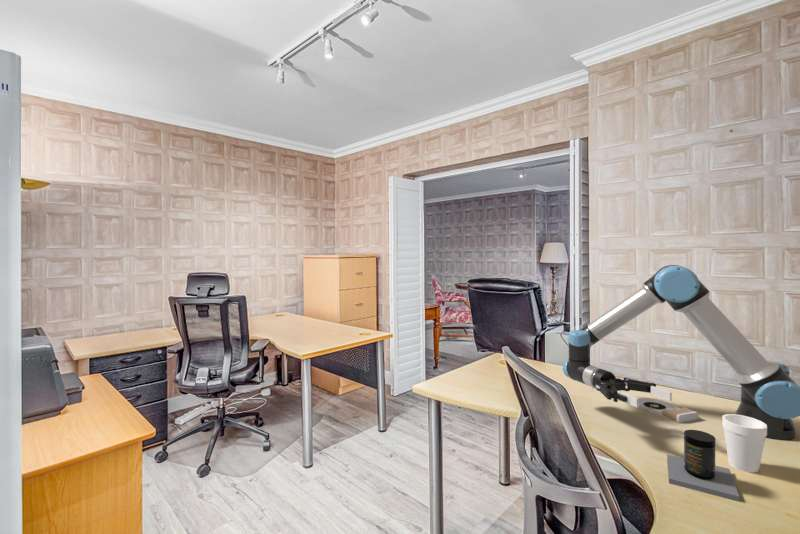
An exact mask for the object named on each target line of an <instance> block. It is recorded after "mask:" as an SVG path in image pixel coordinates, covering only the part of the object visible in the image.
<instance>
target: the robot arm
mask: <svg viewBox="0 0 800 534" xmlns="http://www.w3.org/2000/svg"><path fill="white" fill-rule="evenodd" d="M710 293H711V291H710V290H709V289H708V288H707V287H706V286H705V285H704V284H703V283H702V281H700V279H699V278H698V276H697V274H696V273H695V272H694V271H692V269H689V268H687V267H685V266H681V265H678V264H670V265H666V266H665V265H664V266H663V267H661V268H659V270H657V271H656V272H655V273H654V274H653V275H652V276H651V277H650V278H648V280H646V281H645V282H643V283H642V286H641V287H640V288H639V289H638V290H636V291H635V292H633V293H632V294H630V295H629V296H628V297H625V298H624V299H623V300H622V301H620V302H619V303H617V304H615V306H612V307H611V308H610V309H609V310H606V311H605V312H604V313H603V314H601V315H600V316H598V317H597V318H595V319H594V320H592V321H591V322H589V323H588V324H587V325H585V326H584V327H582V328H579V329H575V330H570V331H569V332H568V339H567V342H568V359H566V360H565V361H564V362H563V365H562V371H563V374H564V375H565V376H566V377H568V379H571V380H573V381H575V382H579V383H581V384H584V385H586V386H589V387H591V388H592V389H595V390H596V391H599V392H600V394H602V395H603V396H604V397H605V398H606V399H607V400H609V401H612V400H613V402H615V403H618V402H619V401H620V402H623V403H624V404H627V405H630V406H632V407H634V408H640V407H639V398H640V397H639V398H638V397H636V396H634V395H631V394H628V393H626V392H631V391H634V392H641V393H647V394H650V395H652V396H655V397H657V398H660V399H664V400H666V401H669V402H671V401H673V396H672V393H673V392H672V391H668V390H666V389H663V388H660V387H657V384H656V383H654V382H647V381H641V380H637V379H632V378H628V377H623V379H621V378H619V377H618V378H617V377H616V376H615V374H614V373H613V372H612V371H609V370H606V369H603V368H600V367H598V366H595V365H591V348H592V346H593V345H595V344H597V343H599V341H601V340H602V339H604V338H605V337H607V336H608V335H610V334H612V333H613V332H615V331H616V330H618V329H619V328H621V327H623V326H624V325H626V324H627V323H629V322H630V321H632V320H634V319H635V318H637V317H638V316H640V315H641V314H642V313H645V312H646V311H647V310H649V309H650V308H652V307H653V306H655V305H657V304H664V303H665V302H666V303H668V305H669V306H670V307H671V308H672V309H673V310H674V312H678V313H683V315H684V316H686V318H687V319H688V320H689V321H690V322H691V324H692V325H693V326H694V327H695V328H696V329H697V331H699V332H700V334H701V335H703V337H704V338H705V339H706V340H707V341H708V342H709V344H710V345H711V346H712V347H713V348H714V349H715V350H716V352H717V353H719V355H720V356H721V357H722V359H724V360H725V362H726V363H727V364H728V365H729V366H730V367H731V368H732V369H733V370H734V372H735V373H737V379H736V381H737V382H738V383H739V385H740V386H741V387H740V403H739V405H738V407H737V409H736V412H735V413H734V414H736V415H743V416H747V417H751V418H755V419H757V420H760V421H762V422H763V423H765V424H766V425H767V436H766V438H769V439H775V440H791V439H792V440H793V439H795V438H796V434H797V429H796V428H795V425H794V421H793V420H792V419H795V418H798V417H800V385H798V384H797V383H796V382H795V381H794V379H792V377H790V374H791V372H790V368H789V366H788V365H786V364H783V363H778V362H772V361H768V360H767V359H766V357H764V356H763V355H762V353H761V352H759V351H758V349H756V347H755V346H754V345H753V344H752V343H751V342H750V341H749V340H748V338H746V337H745V335H743V333H742V332H741V331H740V330H739V329H738V328H737V327H736V326H735V325H734V323H733V322H732V321H730V319H729V318H728V317H727V316H726V315H725V314H724V313H723V312H722V311H721V310H720V309H719V308H718V307H717V306H716V304H715V303H714V302H713V301H712V300H711V299H710ZM624 391H625V392H624Z"/></svg>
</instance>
